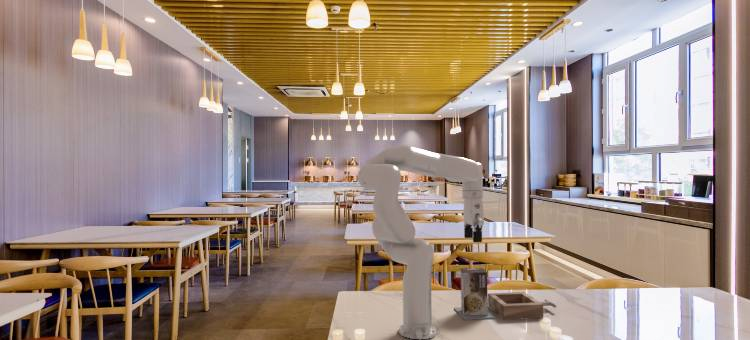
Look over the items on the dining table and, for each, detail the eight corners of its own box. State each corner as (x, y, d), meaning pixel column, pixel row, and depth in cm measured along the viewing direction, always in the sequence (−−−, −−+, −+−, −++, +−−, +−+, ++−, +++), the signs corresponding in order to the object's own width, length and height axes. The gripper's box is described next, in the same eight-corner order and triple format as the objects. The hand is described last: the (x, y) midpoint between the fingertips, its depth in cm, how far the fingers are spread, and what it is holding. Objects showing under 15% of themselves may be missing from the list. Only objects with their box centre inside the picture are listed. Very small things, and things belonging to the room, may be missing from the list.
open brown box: (563, 316, 146) (562, 303, 146) (504, 319, 144) (503, 305, 144) (541, 303, 161) (541, 291, 161) (488, 305, 159) (487, 293, 159)
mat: (495, 318, 145) (495, 317, 145) (463, 320, 144) (463, 318, 144) (483, 307, 157) (483, 306, 157) (453, 308, 156) (453, 307, 156)
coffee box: (484, 309, 153) (484, 267, 153) (488, 315, 147) (487, 272, 147) (460, 309, 154) (460, 267, 154) (463, 315, 147) (462, 271, 147)
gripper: (490, 196, 143) (491, 243, 142) (474, 193, 160) (474, 236, 160) (470, 196, 142) (471, 244, 142) (456, 193, 159) (456, 236, 159)
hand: (472, 239), depth 151 cm, fingers open, 9 cm apart
